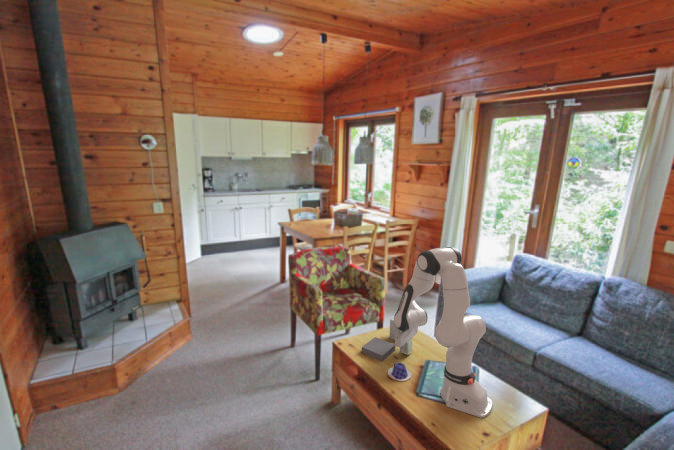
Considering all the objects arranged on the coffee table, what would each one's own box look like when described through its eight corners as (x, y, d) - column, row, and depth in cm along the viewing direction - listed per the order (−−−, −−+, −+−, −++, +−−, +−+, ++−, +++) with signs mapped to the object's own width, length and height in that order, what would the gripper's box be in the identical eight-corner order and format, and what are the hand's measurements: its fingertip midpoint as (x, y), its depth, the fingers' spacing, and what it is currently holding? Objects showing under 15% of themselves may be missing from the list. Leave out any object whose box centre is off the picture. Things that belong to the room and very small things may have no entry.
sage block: (412, 351, 197) (412, 339, 195) (407, 354, 193) (408, 343, 192) (404, 348, 200) (404, 337, 199) (400, 351, 196) (400, 340, 195)
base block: (395, 351, 200) (395, 344, 199) (382, 362, 190) (382, 355, 189) (375, 343, 209) (375, 337, 208) (361, 353, 198) (361, 346, 198)
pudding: (416, 378, 176) (416, 368, 175) (396, 384, 171) (397, 375, 170) (402, 365, 186) (402, 356, 185) (383, 371, 181) (383, 362, 180)
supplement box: (398, 342, 208) (399, 323, 206) (389, 337, 214) (389, 319, 211) (406, 338, 213) (406, 319, 211) (396, 333, 219) (397, 315, 216)
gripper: (402, 333, 184) (402, 357, 186) (420, 319, 199) (419, 341, 201) (392, 329, 188) (391, 353, 190) (410, 316, 203) (409, 338, 205)
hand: (406, 347), depth 196 cm, fingers closed on sage block, 5 cm apart
